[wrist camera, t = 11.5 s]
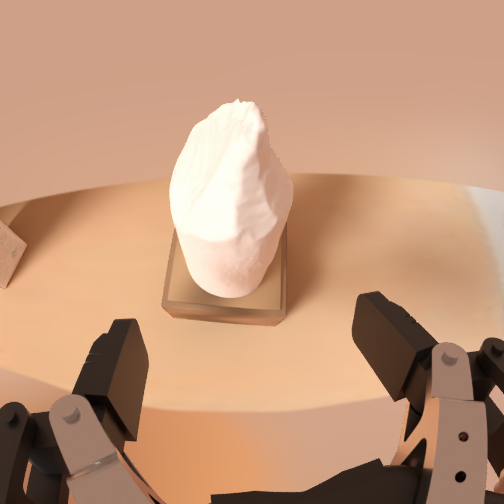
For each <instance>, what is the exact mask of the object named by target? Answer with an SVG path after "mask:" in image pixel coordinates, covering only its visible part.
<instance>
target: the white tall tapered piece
mask: <svg viewBox="0 0 504 504" xmlns="http://www.w3.org/2000/svg"><path fill="white" fill-rule="evenodd" d="M293 195H294V182H293V180H292V178H291V177H290V176H289V175H288V173H287V171H286V170H285V168H284V167H283V166H282V164H281V162H280V160H279V158H278V157H277V156H276V154H275V152H274V151H273V150H272V149H271V148H270V143H269V137H268V128H267V123H266V120H265V116H264V114H263V112H262V110H261V109H260V107H259V106H258V105H257V104H256V103H254V102H246V101H244V102H241V101H240V100H239V99H237V100H236V101H235V102H233V103H225V104H223V105H222V106H220V107H219V108H218V109H217V110H215V111H214V112H212V113H210V114H209V116H208V118H206V119H204V120H202V121H201V122H199V123H197V124H196V125H195V126H194V127H193V129H192V131H191V133H190V135H189V137H188V140H187V142H186V144H185V146H184V149H183V150H182V153H181V154H180V156H179V158H178V160H177V162H176V165H175V168H174V170H173V174H172V178H171V183H170V206H171V213H172V218H173V221H174V225H175V228H176V232H177V235H178V238H179V241H180V245H181V248H182V251H183V254H184V257H185V261H186V263H187V267H188V270H189V273H190V275H191V276H192V278H193V280H194V281H195V282H196V283H197V284H198V285H199V286H200V287H201V288H202V289H204V290H205V291H207V292H208V293H210V294H213V295H216V296H219V297H224V298H238V297H242V296H246V295H248V294H250V293H251V292H253V291H254V290H255V289H256V288H257V287H258V286H259V284H260V283H261V281H262V279H263V277H264V274H265V272H266V270H267V268H268V266H269V265H270V263H271V262H272V260H273V258H274V255H275V253H276V250H277V247H278V243H279V238H280V236H281V234H282V231H283V229H284V226H285V223H286V220H287V218H288V215H289V212H290V209H291V206H292V202H293Z"/></svg>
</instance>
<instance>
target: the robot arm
mask: <svg viewBox="0 0 504 504" xmlns="http://www.w3.org/2000/svg"><path fill="white" fill-rule="evenodd" d="M352 337H353V340H354V342H355V344H356V346H357V347H358V348H359V350H360V351H361V353H362V354H363V356H364V357H365V359H366V360H367V362H368V363H369V365H370V366H371V367H372V369H373V370H374V372H375V373H376V375H377V376H378V378H379V379H380V381H381V382H382V384H383V385H384V387H385V388H386V390H387V391H388V393H389V394H390V396H391V397H392V399H393V400H394V402H396V401H398V400H401V399H403V398H405V397H406V398H407V399H408V403H407V405H406V408H405V415H404V421H403V427H402V431H401V436H400V442H399V446H398V449H397V452H396V454H395V456H394V458H393V460H392V462H391V464H390V465H386V466H383V464H382V462H381V461H380V459H379V458H378V459H376V460H373V461H371V462H368V463H365V464H363V465H360V466H357V467H355V468H351V469H348V470H346V471H342V472H341V473H339V474H337V475H336V476H334V477H332V478H330V479H328V480H326V481H325V482H323V483H321V484H319V485H317V486H315V487H313V488H311V489H309V490H307V491H304V492H265V491H250V492H242V493H230V494H215V495H211V503H209V504H504V415H503V414H502V412H501V411H500V410H499V408H498V407H497V406H496V404H495V403H494V402H493V401H492V399H491V398H490V397H489V394H490V392H491V391H492V390H493V388H494V387H495V385H497V386H498V387H499V389H500V390H501V391H502V392H503V394H504V341H503V340H501V339H498V338H487V339H485V340H484V342H483V344H482V346H481V348H480V350H479V351H475V352H467V353H466V352H465V350H464V349H462V348H461V347H460V346H458V345H456V344H453V343H448V342H444V343H438V342H437V341H436V340H435V339H434V338H433V337H432V336H431V335H430V334H429V333H428V332H427V331H426V330H425V329H424V328H423V327H422V326H421V325H420V324H419V323H417V322H416V320H415V319H414V318H413V317H412V316H410V314H409V313H408V312H407V311H406V310H405V309H403V308H402V307H401V306H399V305H397V304H395V303H393V302H391V301H389V300H388V299H387V298H386V297H385V296H383V295H382V294H381V293H380V292H379V291H375V292H369V293H364V294H360V295H359V296H358V298H357V302H356V308H355V314H354V319H353V325H352ZM148 368H149V360H148V354H147V350H146V347H145V344H144V341H143V338H142V335H141V332H140V329H139V325H138V322H137V320H136V319H115V320H114V321H113V323H112V325H111V328H110V330H109V332H108V333H103V334H102V335H101V336H100V337H99V338H98V339H97V340H96V341H95V342H94V343H93V345H92V347H91V349H90V352H89V355H88V356H87V358H86V361H85V363H84V365H83V367H82V370H81V372H80V375H79V377H78V379H77V382H76V384H75V387H74V389H73V392H72V394H71V395H66V396H63V397H61V398H60V399H58V400H57V401H56V402H55V403H54V404H53V405H52V407H51V409H50V411H48V412H41V413H32V414H30V413H29V412H28V411H27V409H26V408H25V407H24V405H22V404H21V403H19V402H10V403H7V404H5V405H4V406H3V407H2V408H1V409H0V504H68V497H69V489H70V491H71V493H72V495H73V497H74V499H75V501H76V503H77V504H166V503H165V502H164V501H163V500H162V499H161V498H160V497H159V496H158V495H157V493H156V492H155V491H154V490H153V489H152V487H151V486H150V485H149V484H148V482H147V481H146V480H145V479H144V477H143V476H142V475H141V474H140V472H139V471H138V470H137V468H136V467H135V465H134V464H133V462H132V461H131V460H130V458H129V457H128V455H127V454H126V453H125V451H124V443H125V441H137V433H138V426H139V419H140V413H141V407H142V401H143V395H144V389H145V384H146V378H147V373H148ZM487 458H488V460H489V462H490V463H491V465H492V467H493V469H494V470H495V472H496V474H497V476H498V477H499V482H498V483H497V484H496V485H495V487H494V492H492V491H488V490H485V488H486V476H487ZM28 461H29V462H30V463H31V464H32V467H31V472H30V476H29V481H28V486H27V492H26V495H25V493H24V490H23V482H24V477H25V472H26V468H27V463H28Z"/></svg>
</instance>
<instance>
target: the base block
mask: <svg viewBox="0 0 504 504" xmlns="http://www.w3.org/2000/svg"><path fill="white" fill-rule="evenodd" d="M286 261H287V220H286V223H285V226H284V229H283V231H282V234H281V236H280V238H279V243H278V247H277V250H276V253H275V255H274V258H273V260H272V262H271V263H270V265H269V266H268V268H267V270H266V272H265V274H264V277H263V279H262V281H261V283H260V284H259V286H258V287H257V288H256V289H255V290H254V291H253V292H251V293H250V294H248V295H246V296H242V297H238V298H224V297H219V296H216V295H213V294H210V293H208V292H207V291H205V290H204V289H202V288H201V287H200V286H199V285H198V284H197V283H196V282H195V281H194V280H193V278H192V276H191V275H190V273H189V270H188V267H187V263H186V261H185V257H184V254H183V251H182V248H181V245H180V241H179V238H178V235H177V232H176V228H175V229H174V234H173V239H172V244H171V250H170V255H169V261H168V267H167V273H166V279H165V285H164V292H163V299H162V307H163V308H164V309H165V310H166V311H167V312H168V313H169V314H170V315H171V316H172V317H173V318H181V319H190V320H200V321H210V322H221V323H233V324H246V325H262V326H276V325H277V324H278V323H280V322H281V321H282V320H283V319H284V318H285V317H286Z"/></svg>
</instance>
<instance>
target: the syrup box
mask: <svg viewBox="0 0 504 504" xmlns="http://www.w3.org/2000/svg"><path fill="white" fill-rule="evenodd" d="M26 247H27V244H26V243H25V242H24V241H23V240H22V239H21V238H20V237H19V236H18V235H17V234H15V233H14V232H13V231H12V230H11V229H10V228H9V227H7V226H6V225H5V224H4V223H3V222H2V221H1V220H0V287H1V288H3V289H5V288H6V286H7V284H8V282H9V280H10V278H11V277H12V275H13V273H14V270H15V269H16V267H17V265H18V263H19V261H20V259H21V257H22V255H23V253H24V251H25V249H26Z"/></svg>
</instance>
